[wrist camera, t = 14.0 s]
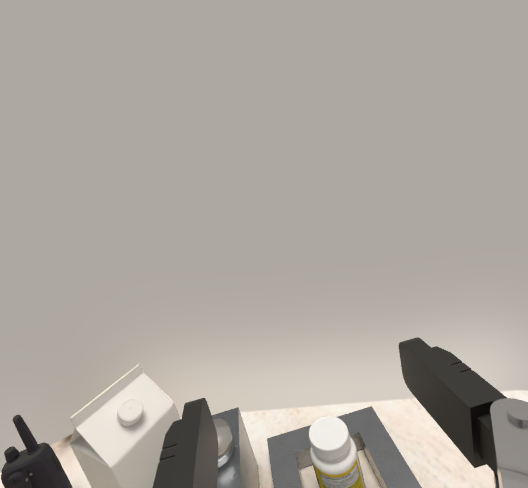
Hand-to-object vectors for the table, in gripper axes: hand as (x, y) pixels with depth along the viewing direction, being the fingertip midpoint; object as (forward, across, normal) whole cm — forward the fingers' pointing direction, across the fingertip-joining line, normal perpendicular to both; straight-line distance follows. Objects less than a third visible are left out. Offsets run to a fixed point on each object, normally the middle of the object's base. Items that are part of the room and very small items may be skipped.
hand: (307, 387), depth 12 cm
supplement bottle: (+14, -2, +27) cm, 30 cm away
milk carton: (+16, +17, +27) cm, 35 cm away
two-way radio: (+21, +32, +27) cm, 47 cm away
